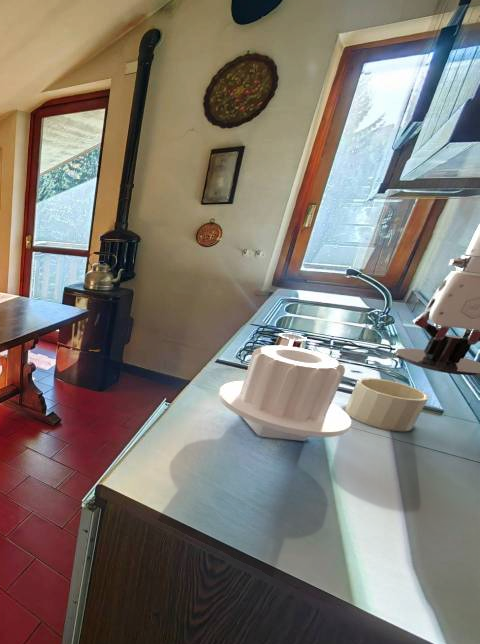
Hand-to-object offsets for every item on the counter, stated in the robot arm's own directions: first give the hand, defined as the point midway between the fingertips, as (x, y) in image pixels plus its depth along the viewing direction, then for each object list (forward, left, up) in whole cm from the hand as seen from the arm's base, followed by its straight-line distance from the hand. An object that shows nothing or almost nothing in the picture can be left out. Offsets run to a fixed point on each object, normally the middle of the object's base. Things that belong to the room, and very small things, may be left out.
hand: (441, 358), depth 79 cm
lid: (0, 0, -1) cm, 1 cm away
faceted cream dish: (-1, -16, -22) cm, 27 cm away
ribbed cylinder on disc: (+23, +4, -22) cm, 32 cm away
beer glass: (+19, -28, -22) cm, 40 cm away
